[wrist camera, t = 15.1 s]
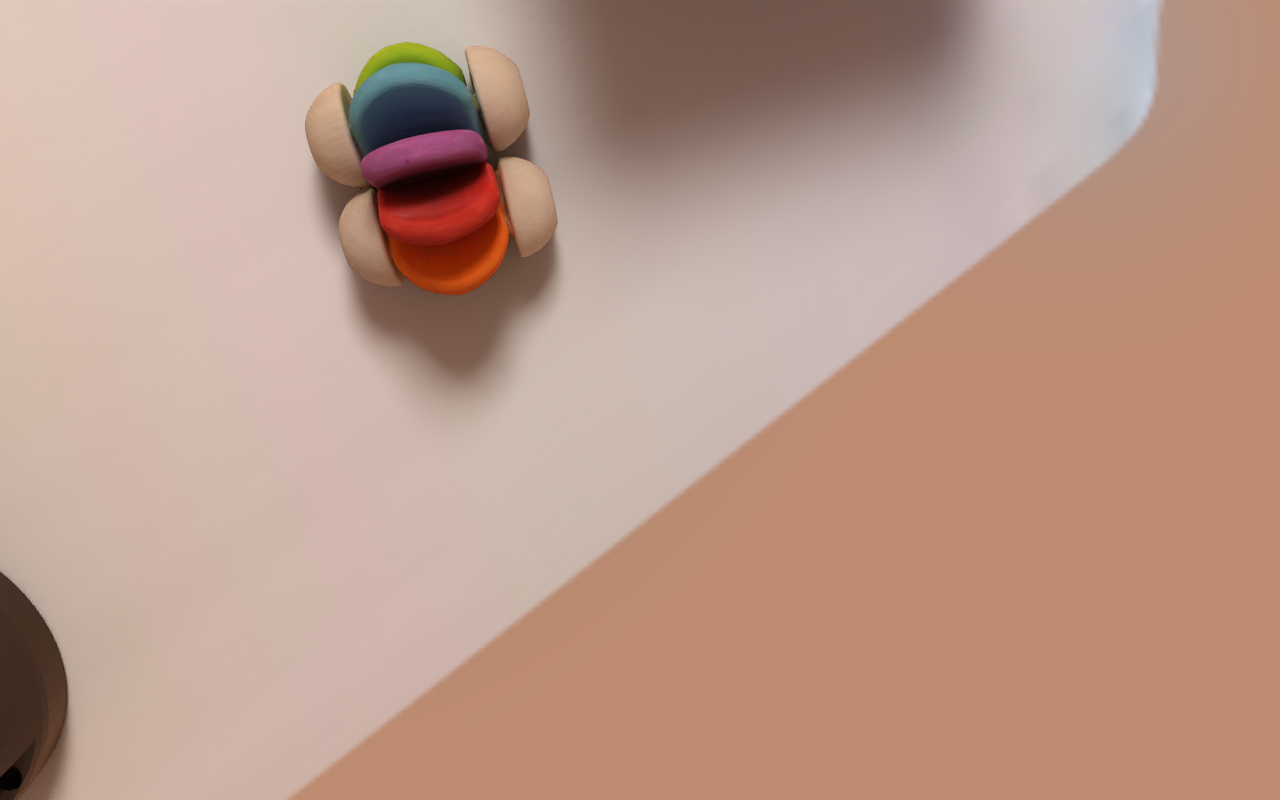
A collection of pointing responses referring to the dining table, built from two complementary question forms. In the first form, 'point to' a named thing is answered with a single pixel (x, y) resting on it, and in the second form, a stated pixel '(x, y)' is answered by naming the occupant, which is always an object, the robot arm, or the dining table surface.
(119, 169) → the dining table surface
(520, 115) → the multicolored rounded segment toy
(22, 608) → the robot arm
